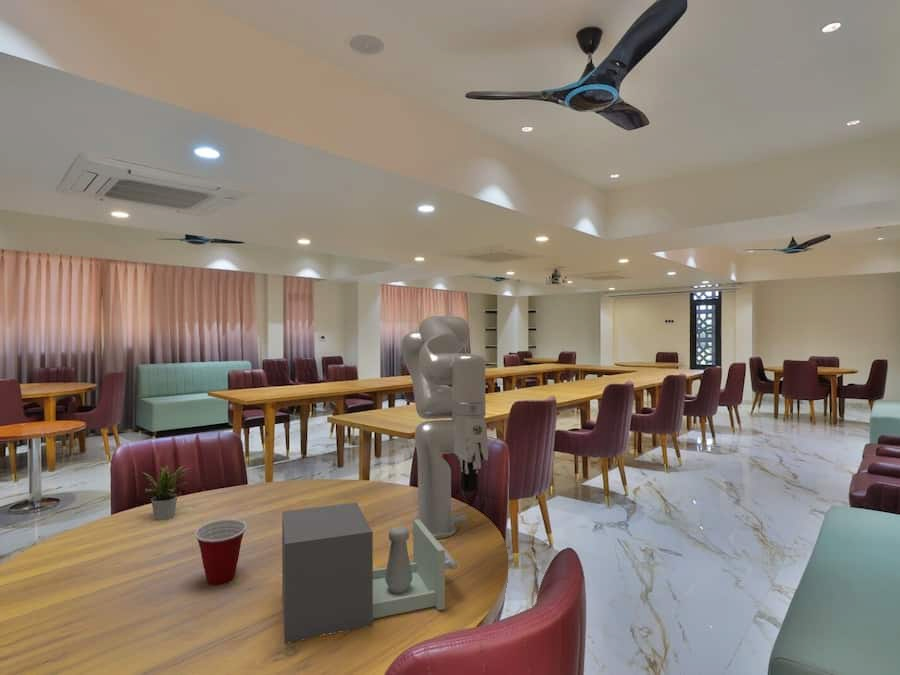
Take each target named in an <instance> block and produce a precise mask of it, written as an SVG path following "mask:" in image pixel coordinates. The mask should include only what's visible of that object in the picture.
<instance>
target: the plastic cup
mask: <svg viewBox="0 0 900 675" xmlns="http://www.w3.org/2000/svg"><path fill="white" fill-rule="evenodd" d="M247 526H248V525H247V524H246V523H245V521H243V520H240V519H234V518H233V519H232V518H226V519H218V520H213V521H210V522H208V523H205V524H202V525H201V526H198V528H196V530H195V532H194V537H195V538H196V540H197V542H198V545H199V549H200V554H201V561H202V566H203V570H204V575H205V580H206V583H207V584H208V585H210V586H222V585H225V584H228V583H230V582H232V581H233V580H234V579H235V576H236V573H237V566H238V562H239V558H240V550H241V545H242V540H243V537H244V533H245V532H246V530H247Z"/></svg>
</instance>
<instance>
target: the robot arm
mask: <svg viewBox="0 0 900 675" xmlns="http://www.w3.org/2000/svg"><path fill="white" fill-rule="evenodd" d="M469 338H470V326H469V323H468V322H467V320H466V319H465V318H463V317H462V316H450V315H449V316H447V315H446V316H445V315H444V316H443V315H441V316H439V315H435V316H433V315H432V316H428V317H425V318H424V319H423V320H422V321H421V322H420V324H419V327H418V331H417V330H416V331H410V332H408V333H406V334H405V335H404V337H403V339H402V341H401V342H402V343H401V349H402V350H401V351H402V358H403V361H404V364H405V366H406V369H407V371H408V373H409V375H410V378H411V381H412V383H411V384H412V388H413V389H412V390H413V396H414V404H415V409H416V413H417V415H418V416H419V418H421V419H425V420H427V421H423V422H420V423H419V424H418V425H417V426H416V428H415V430H414V442H415V448H416V455H417V457H416V458H417V520H418V519H419V520H420V521H421V522H422V523H423V525H424V526H425V527H426V528H427V529H428V530H429V532H430V533H431V534H432V535H433V536H434V538H435V539H436V540H438V539H445V538H449V537H451V536H453V535H455V533H456V532H457V524H458V523H465V522H467V521H468V516H467V514H462V515H460V513H458V512H457V513H452V494H451V493H452V474H451V473H452V469H451V467H450V465H449V463H448V462H447V460H446V459H445V458H444V457H443V455H445V454H446V455H448V454H454V455H455V456H457V458H458V460H459V461H460V471H461V474H460V476H461V482H460V483H461V484H460V485H461V490H462V491H463V492H464V493H467V492H476V491H477V490H478V473H479V469H482V461H483V462H487V461H488V460H489V443H488V429H487V422H486V415H487V414H486V409H487V408H486V406H487V405H486V404H487V402H486V360H485V357H483V356H482V355H477V354H474V353H467V352H466V353H465V352H464V353H462V352H461V350H462V349H463V348H464V347H466V345H467V343H468V341H469ZM460 352H461V353H460ZM443 385H444V386H443ZM445 385H451V386H445Z"/></svg>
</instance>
